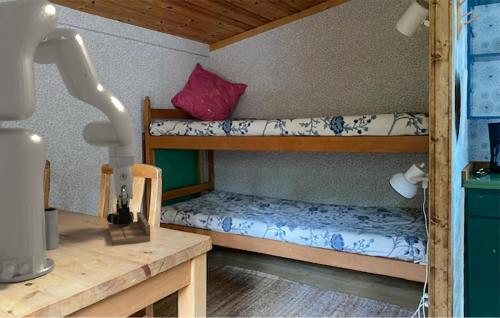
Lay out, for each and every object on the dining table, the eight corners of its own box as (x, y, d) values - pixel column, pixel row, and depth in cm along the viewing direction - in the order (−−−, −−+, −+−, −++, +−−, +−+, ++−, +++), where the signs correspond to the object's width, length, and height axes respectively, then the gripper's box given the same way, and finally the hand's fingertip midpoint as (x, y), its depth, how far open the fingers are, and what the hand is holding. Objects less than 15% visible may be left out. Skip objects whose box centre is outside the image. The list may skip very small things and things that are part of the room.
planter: (40, 246, 100) (38, 208, 99) (58, 244, 102) (57, 207, 101) (39, 251, 96) (37, 212, 95) (59, 248, 98) (57, 210, 97)
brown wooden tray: (150, 241, 105) (150, 225, 105) (112, 245, 101) (112, 229, 101) (141, 225, 122) (140, 211, 122) (108, 228, 118) (108, 214, 118)
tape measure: (126, 221, 121) (126, 209, 121) (138, 224, 117) (137, 212, 116) (106, 224, 116) (106, 212, 116) (117, 228, 112) (117, 215, 111)
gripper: (137, 163, 109) (139, 223, 110) (131, 159, 125) (132, 211, 126) (110, 164, 106) (112, 225, 107) (107, 160, 122) (108, 213, 123)
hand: (123, 217), depth 117 cm, fingers closed on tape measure, 7 cm apart
